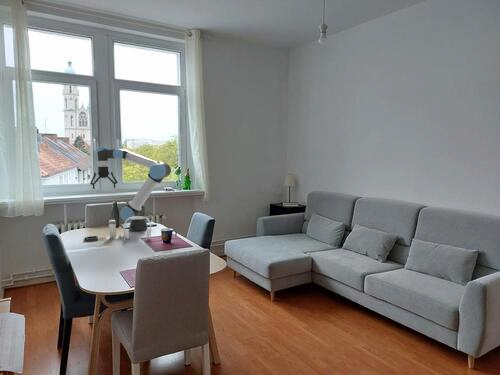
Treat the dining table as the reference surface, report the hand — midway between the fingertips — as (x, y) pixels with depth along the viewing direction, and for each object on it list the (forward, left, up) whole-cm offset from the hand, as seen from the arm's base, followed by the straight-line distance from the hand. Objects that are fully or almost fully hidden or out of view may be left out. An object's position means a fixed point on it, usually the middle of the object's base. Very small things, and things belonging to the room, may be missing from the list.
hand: (104, 192), depth 283 cm
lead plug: (-3, +27, -31) cm, 41 cm away
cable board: (+4, +27, -33) cm, 43 cm away
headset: (-20, +35, -33) cm, 52 cm away
